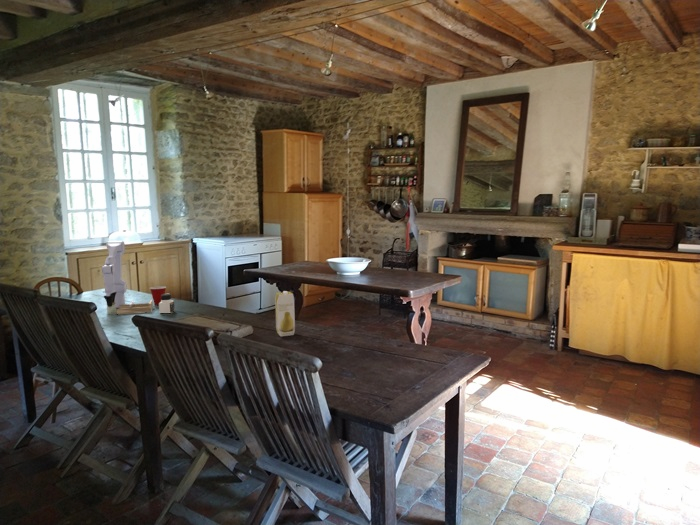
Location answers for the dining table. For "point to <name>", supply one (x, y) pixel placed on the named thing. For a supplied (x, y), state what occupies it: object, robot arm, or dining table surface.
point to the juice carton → (285, 313)
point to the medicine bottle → (166, 304)
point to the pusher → (131, 304)
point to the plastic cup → (157, 293)
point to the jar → (111, 308)
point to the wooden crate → (135, 308)
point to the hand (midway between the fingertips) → (111, 305)
